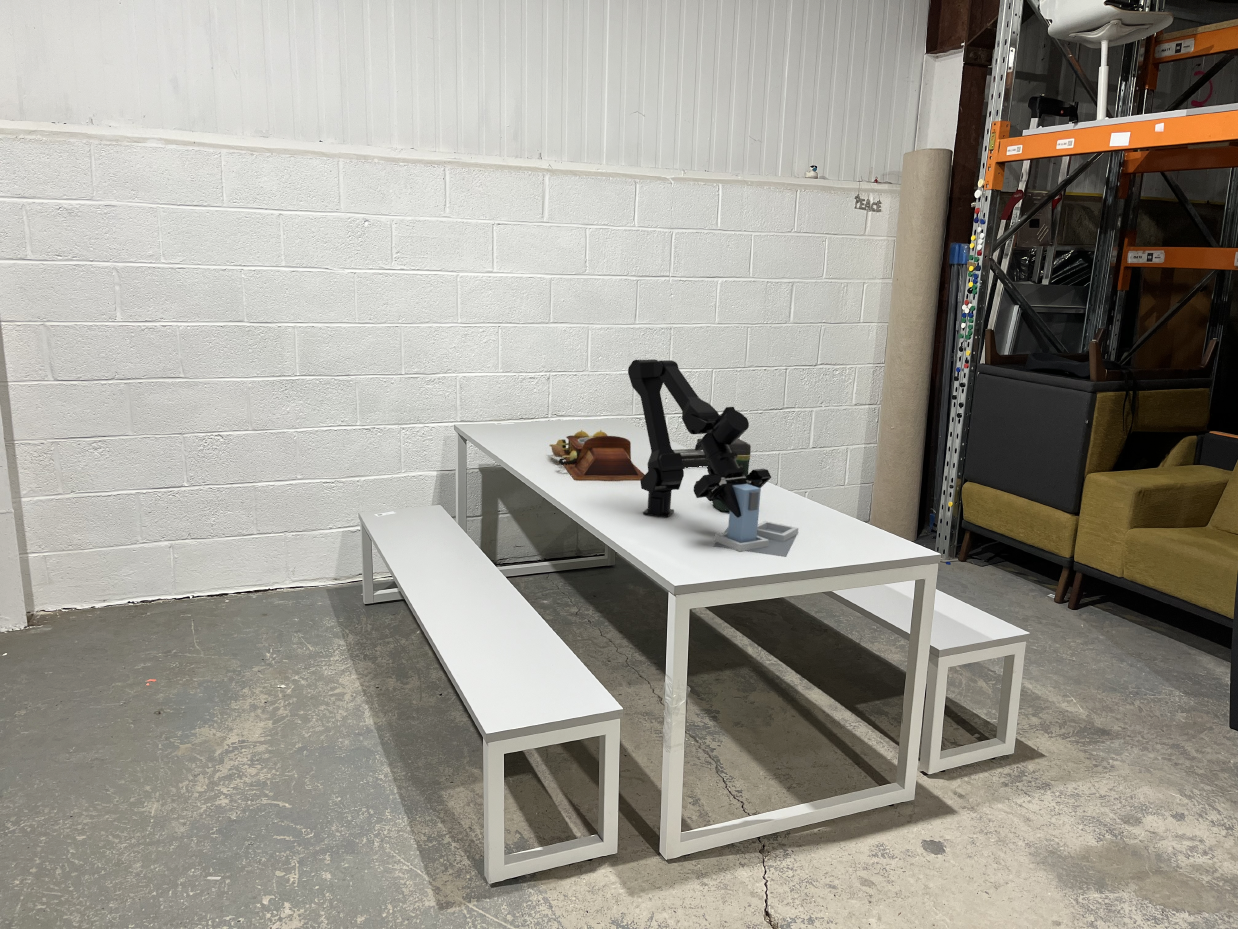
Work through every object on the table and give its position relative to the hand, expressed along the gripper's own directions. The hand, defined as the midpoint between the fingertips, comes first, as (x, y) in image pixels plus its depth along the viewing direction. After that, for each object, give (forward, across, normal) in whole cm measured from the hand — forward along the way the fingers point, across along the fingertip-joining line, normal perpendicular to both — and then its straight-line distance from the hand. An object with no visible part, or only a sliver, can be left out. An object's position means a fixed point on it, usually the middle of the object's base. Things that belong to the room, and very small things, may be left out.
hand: (748, 515), depth 203 cm
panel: (+4, -6, -8) cm, 10 cm away
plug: (+4, 0, -6) cm, 7 cm away
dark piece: (-48, -44, -60) cm, 88 cm away
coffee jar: (-15, -20, -26) cm, 36 cm away
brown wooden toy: (-54, -14, -66) cm, 86 cm away
